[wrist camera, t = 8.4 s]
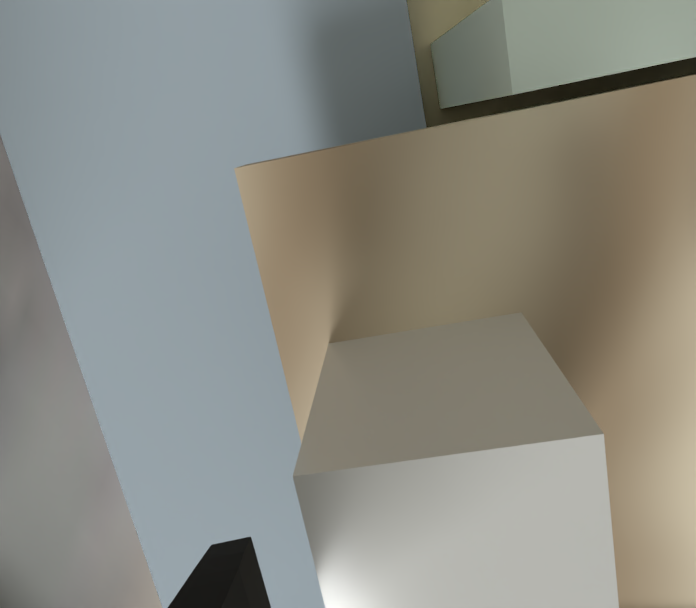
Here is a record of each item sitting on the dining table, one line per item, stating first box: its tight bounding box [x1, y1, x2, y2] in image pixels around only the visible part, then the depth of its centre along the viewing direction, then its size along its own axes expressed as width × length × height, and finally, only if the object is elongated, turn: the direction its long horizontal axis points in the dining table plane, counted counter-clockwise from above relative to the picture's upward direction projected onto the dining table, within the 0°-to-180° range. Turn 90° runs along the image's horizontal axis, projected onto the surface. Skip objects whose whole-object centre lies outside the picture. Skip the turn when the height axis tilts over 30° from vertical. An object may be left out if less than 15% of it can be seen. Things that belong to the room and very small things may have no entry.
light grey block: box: [293, 312, 619, 608], centre depth 11 cm, size 4×4×5 cm
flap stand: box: [430, 0, 696, 109], centre depth 15 cm, size 8×17×6 cm, turn 11°
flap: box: [234, 73, 696, 608], centre depth 15 cm, size 14×12×4 cm
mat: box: [0, 0, 426, 608], centre depth 18 cm, size 22×10×1 cm, turn 11°
